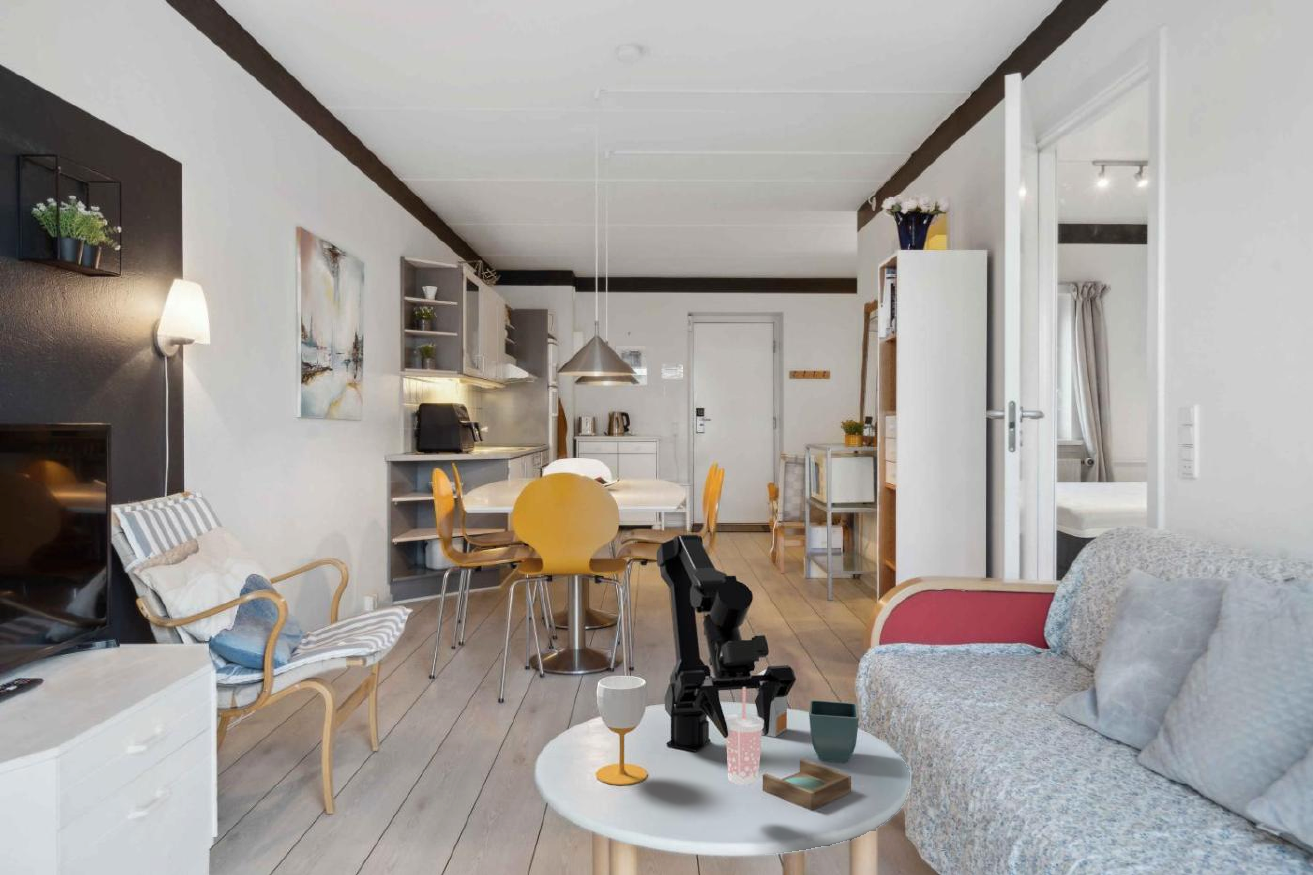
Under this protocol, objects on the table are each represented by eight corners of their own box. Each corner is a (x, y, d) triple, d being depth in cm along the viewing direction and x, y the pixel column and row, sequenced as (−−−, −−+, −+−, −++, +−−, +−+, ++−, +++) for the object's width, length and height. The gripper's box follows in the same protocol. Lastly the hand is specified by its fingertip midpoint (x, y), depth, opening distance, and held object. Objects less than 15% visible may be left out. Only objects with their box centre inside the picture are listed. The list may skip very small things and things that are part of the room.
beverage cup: (768, 775, 126) (769, 684, 126) (756, 790, 120) (757, 695, 120) (730, 768, 128) (731, 679, 128) (717, 783, 123) (718, 689, 123)
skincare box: (775, 738, 160) (775, 676, 160) (755, 734, 162) (756, 673, 162) (787, 729, 165) (787, 670, 165) (768, 725, 167) (768, 667, 167)
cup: (623, 761, 147) (623, 672, 148) (658, 775, 141) (659, 682, 141) (584, 774, 141) (585, 681, 141) (619, 790, 135) (620, 692, 135)
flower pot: (859, 768, 144) (859, 717, 145) (808, 764, 146) (808, 714, 146) (857, 750, 153) (857, 702, 153) (809, 747, 155) (809, 699, 155)
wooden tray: (762, 790, 135) (762, 774, 135) (802, 773, 142) (802, 758, 142) (811, 810, 127) (811, 793, 127) (851, 791, 134) (851, 776, 134)
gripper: (679, 619, 126) (697, 714, 115) (791, 614, 130) (820, 705, 119) (666, 657, 134) (683, 749, 123) (773, 651, 138) (798, 740, 127)
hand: (746, 735), depth 123 cm, fingers closed on beverage cup, 6 cm apart
